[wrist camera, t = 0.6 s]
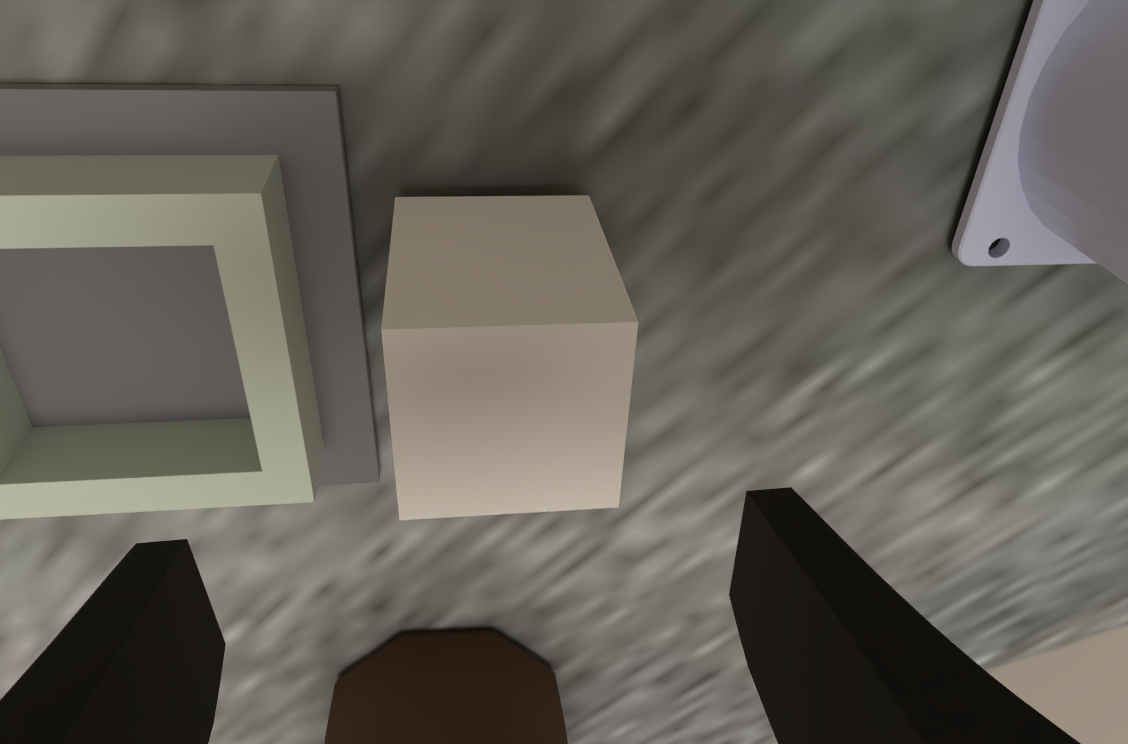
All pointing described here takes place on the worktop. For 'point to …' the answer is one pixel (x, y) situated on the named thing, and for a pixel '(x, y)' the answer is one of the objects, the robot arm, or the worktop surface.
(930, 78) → the worktop surface
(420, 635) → the beer bottle
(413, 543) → the worktop surface
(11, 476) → the socket block
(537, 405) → the plug
